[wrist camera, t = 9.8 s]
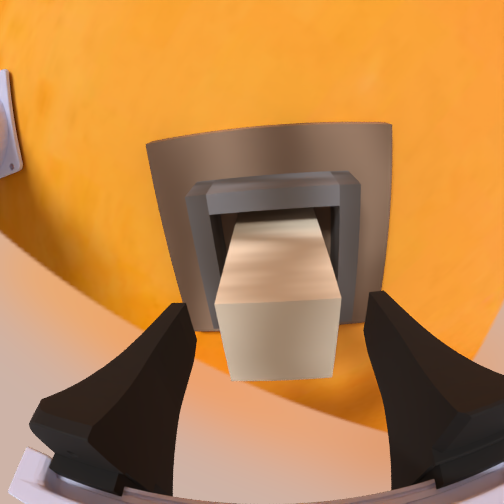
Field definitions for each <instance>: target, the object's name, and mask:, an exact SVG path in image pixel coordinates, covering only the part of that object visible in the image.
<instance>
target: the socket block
mask: <svg viewBox="0 0 504 504" xmlns="http://www.w3.org/2000/svg"><path fill="white" fill-rule="evenodd" d="M146 148H147V154H148V159H149V164H150V169H151V174H152V179H153V184H154V189H155V194H156V198H157V203H158V207H159V212H160V216H161V220H162V225H163V229H164V233H165V237H166V241H167V245H168V249H169V253H170V257H171V261H172V265H173V268H174V272H175V276H176V280H177V283H178V287H179V290H180V294H181V297H182V301H183V303H186V305H187V308H188V312H189V315H190V318H191V322H192V325H193V329H194V331H220V328H219V323H218V319H217V314H216V309H215V305H214V304H215V300H216V296H217V292H218V288H219V284H220V280H221V276H222V273H223V269H224V265H225V261H226V257H227V254H228V250H229V246H230V242H231V239H232V235H233V231H234V228H235V224H236V220H237V217H238V213H239V212H249V211H262V210H276V209H291V208H307V207H313V209H314V212H315V215H316V218H317V221H318V224H319V227H320V230H321V233H322V236H323V239H324V242H325V245H326V248H327V252H328V255H329V258H330V261H331V264H332V268H333V271H334V274H335V278H336V281H337V284H338V288H339V291H340V295H341V308H340V318H339V325H341V324H352V323H362V322H365V318H366V311H367V304H368V297H369V292H374V291H381V287H382V280H383V273H384V265H385V257H386V248H387V239H388V228H389V215H390V200H391V180H392V124H388V123H382V122H321V123H297V124H281V125H268V126H256V127H246V128H236V129H228V130H220V131H212V132H205V133H198V134H191V135H185V136H179V137H173V138H167V139H162V140H157V141H152V142H150V143H147V144H146Z"/></svg>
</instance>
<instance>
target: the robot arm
mask: <svg viewBox="0 0 504 504" xmlns="http://www.w3.org/2000/svg"><path fill="white" fill-rule="evenodd" d="M13 166H14V167H13ZM22 167H23V162H22V157H21V153H20V148H19V143H18V138H17V133H16V127H15V121H14V114H13V107H12V100H11V91H10V81H9V71H8V70H7V69H3V70H1V71H0V178H2V177H5V176H7V175H10V174H13V173H15V172H18V171H20V170H21V169H22ZM363 331H364V336H365V341H366V346H367V351H368V355H369V358H370V361H371V364H372V367H373V370H374V373H375V376H376V380H377V383H378V386H379V389H380V392H381V396H382V400H383V404H384V409H385V415H386V421H387V428H388V436H389V444H390V457H391V482H392V483H391V484H392V485H391V486H392V487H391V491H387V492H382V493H377V494H372V495H366V496H362V497H355V498H348V499H342V500H333V501H324V502H313V503H299V504H504V375H502V374H499V373H496V372H494V371H492V370H490V369H487V368H485V367H483V366H481V365H479V364H477V363H475V362H473V361H471V360H469V359H468V358H466V357H464V356H462V355H461V354H459V353H457V352H456V351H454V350H453V349H451V348H450V347H448V346H447V345H446V344H444V343H443V342H441V341H440V340H439V339H437V338H436V337H435V336H433V335H432V334H431V333H430V332H428V331H427V330H426V329H425V328H424V327H422V326H421V325H420V324H419V323H418V322H417V321H416V320H414V319H413V318H412V317H411V316H410V315H409V314H408V313H407V312H406V311H405V310H404V309H403V308H402V307H400V306H399V305H398V304H397V303H396V302H395V301H394V300H393V299H392V298H391V297H390V296H389V295H388V294H387V293H386V292H385V291H374V292H369V297H368V304H367V311H366V318H365V324H364V330H363ZM196 342H197V338H196V335H195V332H194V329H193V325H192V322H191V318H190V315H189V312H188V308H187V305H186V303H172V304H171V305H170V306H169V307H168V308H167V309H166V310H165V311H164V312H163V313H162V314H161V315H160V316H159V317H158V318H157V319H156V320H155V321H154V322H153V323H152V324H151V325H150V326H149V327H148V328H147V329H146V330H145V331H144V332H143V334H142V335H141V336H139V337H138V338H137V339H136V340H135V341H134V342H133V343H132V344H131V345H130V346H129V347H128V348H127V349H126V350H124V352H122V353H121V354H120V355H119V356H117V357H116V358H115V359H114V360H112V361H111V362H110V363H108V364H107V365H106V366H104V367H103V368H101V369H100V370H98V371H97V372H95V373H94V374H92V375H91V376H89V377H88V378H86V379H84V380H82V381H81V382H79V383H77V384H75V385H73V386H71V387H69V388H67V389H65V390H63V391H61V392H59V393H56V394H54V395H51V396H49V397H47V398H44V399H42V400H41V401H40V404H39V405H38V407H37V409H36V411H35V413H34V415H33V417H32V419H31V421H30V423H29V426H30V429H31V430H32V432H33V433H34V434H35V435H36V436H37V437H38V438H39V439H40V440H41V441H42V442H43V443H44V444H46V446H48V447H49V448H50V449H51V450H52V451H53V452H54V453H55V454H54V457H53V458H51V457H49V456H48V455H46V454H44V453H41V452H39V451H37V450H35V449H32V448H30V447H26V450H25V452H24V454H23V456H22V459H21V461H20V463H19V466H18V468H17V470H16V473H15V475H14V478H13V480H12V482H11V485H10V487H9V490H8V493H9V494H10V495H12V496H14V497H15V498H17V499H18V500H20V501H22V502H23V503H25V504H234V503H220V502H209V501H200V500H192V499H184V498H178V497H173V465H174V452H175V442H176V434H177V427H178V420H179V414H180V409H181V405H182V401H183V398H184V394H185V390H186V387H187V384H188V380H189V377H190V373H191V370H192V366H193V362H194V357H195V350H196Z"/></svg>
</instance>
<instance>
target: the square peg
mask: <svg viewBox="0 0 504 504" xmlns="http://www.w3.org/2000/svg"><path fill="white" fill-rule="evenodd" d="M214 305H215V309H216V314H217V319H218V323H219V328H220V333H221V337H222V342H223V346H224V351H225V355H226V359H227V364H228V368H229V372H230V377H231V381H276V380H299V379H315V378H328V377H332V374H333V367H334V360H335V352H336V345H337V336H338V328H339V318H340V308H341V295H340V291H339V288H338V284H337V281H336V278H335V274H334V271H333V268H332V264H331V261H330V258H329V255H328V252H327V248H326V245H325V242H324V239H323V236H322V233H321V230H320V227H319V224H318V221H317V218H316V215H315V212H314V209H313V207H307V208H291V209H276V210H262V211H249V212H239V213H238V217H237V220H236V224H235V228H234V231H233V235H232V239H231V242H230V246H229V250H228V254H227V257H226V261H225V265H224V269H223V273H222V276H221V280H220V284H219V288H218V292H217V296H216V300H215V304H214Z"/></svg>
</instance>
